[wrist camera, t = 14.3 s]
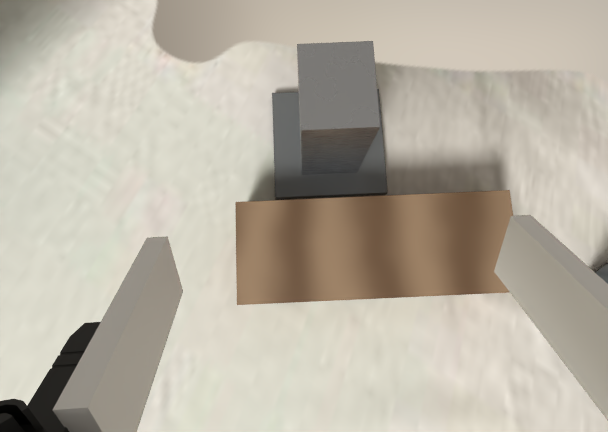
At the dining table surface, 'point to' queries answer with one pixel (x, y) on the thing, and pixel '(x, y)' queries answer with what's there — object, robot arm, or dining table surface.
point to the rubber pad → (319, 185)
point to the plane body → (370, 247)
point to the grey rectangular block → (336, 105)
